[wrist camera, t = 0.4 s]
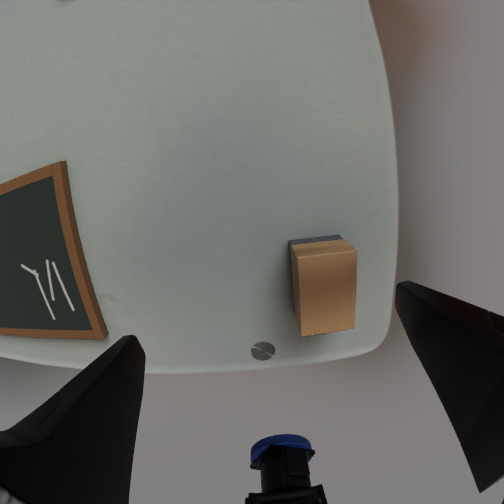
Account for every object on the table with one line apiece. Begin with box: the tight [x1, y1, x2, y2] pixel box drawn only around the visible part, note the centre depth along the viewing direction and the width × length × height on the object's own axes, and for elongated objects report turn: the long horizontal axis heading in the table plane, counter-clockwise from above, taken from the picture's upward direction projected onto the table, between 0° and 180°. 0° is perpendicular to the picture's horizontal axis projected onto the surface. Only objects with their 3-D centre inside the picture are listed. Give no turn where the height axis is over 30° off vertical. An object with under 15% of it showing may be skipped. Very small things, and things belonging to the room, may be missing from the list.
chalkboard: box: [0, 161, 108, 339], centre depth 22 cm, size 16×24×1 cm, turn 96°
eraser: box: [289, 235, 357, 337], centre depth 21 cm, size 6×4×4 cm, turn 6°
